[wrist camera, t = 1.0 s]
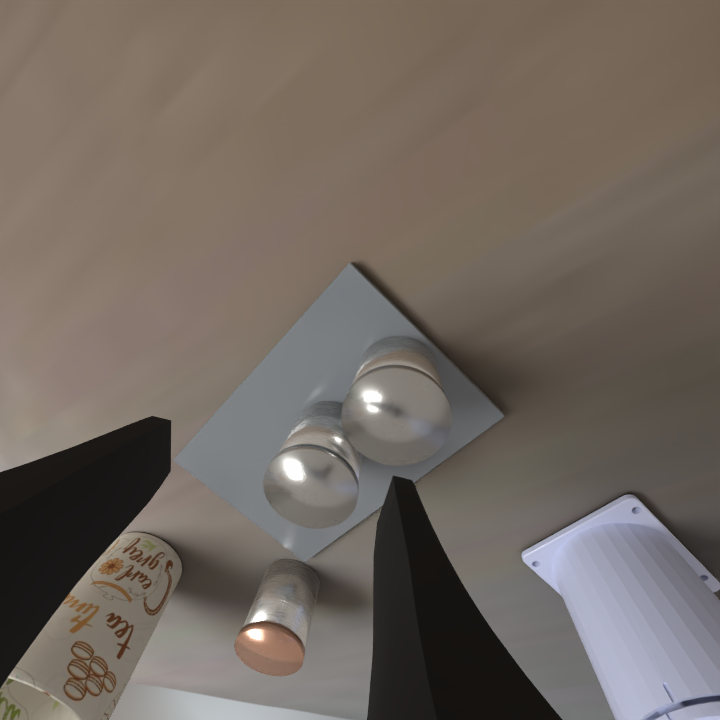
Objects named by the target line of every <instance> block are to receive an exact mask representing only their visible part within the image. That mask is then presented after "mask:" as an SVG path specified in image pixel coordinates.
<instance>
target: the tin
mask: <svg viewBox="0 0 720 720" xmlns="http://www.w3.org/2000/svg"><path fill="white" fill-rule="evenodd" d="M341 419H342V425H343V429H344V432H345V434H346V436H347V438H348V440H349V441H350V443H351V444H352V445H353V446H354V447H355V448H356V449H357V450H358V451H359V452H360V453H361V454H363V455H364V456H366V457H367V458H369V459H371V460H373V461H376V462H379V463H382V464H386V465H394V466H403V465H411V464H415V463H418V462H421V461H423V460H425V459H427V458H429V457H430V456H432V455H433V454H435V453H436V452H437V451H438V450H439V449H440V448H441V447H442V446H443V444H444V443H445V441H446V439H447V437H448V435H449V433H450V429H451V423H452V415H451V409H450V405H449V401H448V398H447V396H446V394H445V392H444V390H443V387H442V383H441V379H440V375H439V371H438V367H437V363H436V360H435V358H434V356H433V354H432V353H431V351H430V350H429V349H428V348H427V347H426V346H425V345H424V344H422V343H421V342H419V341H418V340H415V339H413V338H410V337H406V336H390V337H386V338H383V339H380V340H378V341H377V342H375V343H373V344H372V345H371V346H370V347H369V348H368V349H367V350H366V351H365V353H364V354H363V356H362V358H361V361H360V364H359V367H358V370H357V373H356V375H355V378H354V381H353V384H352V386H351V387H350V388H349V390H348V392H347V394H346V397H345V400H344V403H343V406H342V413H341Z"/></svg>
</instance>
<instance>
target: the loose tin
mask: <svg viewBox="0 0 720 720" xmlns="http://www.w3.org/2000/svg"><path fill="white" fill-rule="evenodd" d="M319 586H320V581H319V578H318V576H317V574H316V572H315V571H314V570H313V569H312V568H311V567H309V566H308V565H306V564H305V563H302V562H300V561H297V560H293V559H281V560H277V561H274V562H273V563H271V564H270V565H269V566H268V568H267V569H266V572H265V574H264V577H263V579H262V582H261V584H260V587H259V589H258V591H257V594H256V596H255V599H254V601H253V604H252V606H251V608H250V611H249V613H248V616H247V618H246V621H245V623H244V626H243V628H242V629H241V630H240V632H239V634H238V636H237V639H236V641H235V651H236V654H237V655H238V657H239V658H240V659H241V661H242V662H243V663H245V664H246V665H247V666H248V667H250V668H252V669H254V670H255V671H258V672H260V673H263V674H267V675H272V676H286V675H290V674H293V673H295V672H297V671H298V670H299V669H300V668H301V666H302V664H303V660H304V655H305V645H306V641H307V636H308V632H309V628H310V624H311V620H312V616H313V611H314V607H315V603H316V599H317V595H318V591H319Z"/></svg>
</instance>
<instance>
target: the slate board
mask: <svg viewBox="0 0 720 720" xmlns="http://www.w3.org/2000/svg"><path fill="white" fill-rule="evenodd" d="M390 336H406V337H410V338H413V339H415V340H418V341H419V342H421V343H422V344H424V345H425V346H426V347H427V348H428V349H429V350H430V351H431V353H432V354H433V356H434V358H435V360H436V363H437V367H438V371H439V375H440V379H441V383H442V387H443V390H444V392H445V394H446V396H447V398H448V401H449V405H450V409H451V415H452V423H451V429H450V433H449V435H448V437H447V439H446V441H445V443H444V444H443V446H442V447H441V448H440V449H439V450H438V451H437V452H436V453H435V454H433V455H432V456H430V457H429V458H427V459H425V460H423V461H421V462H418V463H415V464H411V465H403V466H394V465H386V464H382V463H379V462H376V461H373V460H371V459H369V458H367V457H366V456H364V455H363V461H362V466H361V472H360V477H359V482H358V483H359V494H358V499H357V504H356V507H355V509H354V511H353V513H352V514H351V515H350V516H349V517H348V518H347V519H346V520H345V521H343V522H342V523H340V524H338V525H336V526H333V527H329V528H322V529H313V528H306V527H302V526H299V525H296V524H294V523H291V522H289V521H288V520H286V519H284V518H283V517H282V516H280V515H279V514H278V513H277V512H276V511H275V510H274V509H273V508H272V507H271V505H270V504H269V502H268V500H267V498H266V496H265V493H264V489H263V478H264V474H265V471H266V469H267V467H268V466H269V464H270V462H271V461H272V459H273V458H274V457H275V456H276V454H278V452H279V451H280V449H281V447H282V446H283V444H284V442H285V440H286V439H287V437H288V435H289V433H290V432H291V430H292V428H293V427H294V425H295V423H296V421H297V420H298V418H299V416H300V415H301V413H302V412H303V411H304V410H305V409H306V408H307V407H308V406H310V405H312V404H314V403H317V402H321V401H335V402H339V403H342V404H343V403H344V400H345V397H346V394H347V392H348V390H349V388H350V387H351V386H352V384H353V381H354V378H355V375H356V373H357V370H358V367H359V364H360V361H361V358H362V356H363V354H364V353H365V351H366V350H367V349H368V348H369V347H370V346H371V345H372V344H373V343H375V342H377V341H378V340H380V339H383V338H386V337H390ZM503 417H505V415H504V414H503V412H502V410H501V409H499V408H498V407H497V406H496V405H495V404H494V403H493V402H492V401H491V400H490V399H489V398H488V397H487V396H486V395H485V394H484V393H483V392H482V391H481V390H480V389H479V388H478V387H477V386H476V385H475V384H474V383H473V382H472V381H471V380H470V379H469V378H468V377H467V376H466V375H465V374H464V373H463V372H462V371H461V370H460V369H459V368H458V367H457V366H456V365H455V364H454V363H453V362H452V361H451V360H450V359H449V358H448V357H447V356H446V355H445V354H444V353H443V352H442V351H441V350H440V349H439V348H438V347H437V346H436V345H435V344H434V343H433V342H432V341H431V340H430V339H429V338H428V337H427V336H426V335H425V334H424V333H423V332H422V331H421V330H420V329H419V328H417V327H416V326H415V325H414V324H413V323H412V322H411V321H410V320H409V319H408V318H407V317H406V316H405V315H404V314H403V313H402V312H401V311H400V310H399V309H398V308H397V307H396V306H395V305H394V304H393V303H392V302H391V301H390V300H389V299H388V298H387V297H386V296H385V295H384V294H383V293H382V292H381V291H380V290H379V289H378V288H377V287H376V286H375V285H374V284H373V283H372V282H371V281H370V280H369V279H368V278H367V277H366V276H365V275H364V274H363V273H362V272H361V271H360V270H359V269H358V268H357V267H356V266H355V265H354V264H353V263H352V262H351V263H349V264H348V265H347V267H346V268H345V269H344V270H343V271H342V272H341V273H340V274H339V275H338V277H337V278H336V279H335V280H334V281H333V282H332V283H331V284H330V286H329V287H328V288H327V289H326V290H325V291H324V292H323V293H322V294H321V296H320V297H319V298H318V299H317V300H316V301H315V302H314V303H313V304H312V306H311V307H310V308H309V309H308V310H307V311H306V312H305V313H304V315H303V316H302V317H301V318H300V319H299V320H298V321H297V322H296V323H295V325H294V326H293V327H292V328H291V329H290V330H289V331H288V332H287V334H286V335H285V336H284V337H283V338H282V339H281V340H280V341H279V342H278V344H277V345H276V346H275V347H274V348H273V349H272V350H271V351H270V353H269V354H268V355H267V356H266V357H265V358H264V359H263V360H262V361H261V363H260V364H259V365H258V366H257V367H256V368H255V369H254V370H253V372H252V373H251V374H250V375H249V376H248V377H247V378H246V379H245V380H244V382H243V383H242V384H241V385H240V386H239V387H238V388H237V389H236V391H235V392H234V393H233V394H232V395H231V396H230V397H229V398H228V399H227V401H226V402H225V403H224V404H223V405H222V406H221V407H220V408H219V410H218V411H217V412H216V413H215V414H214V415H213V416H212V417H211V418H210V420H209V421H208V422H207V423H206V424H205V425H204V426H203V427H202V428H201V430H200V431H199V432H198V433H197V434H196V435H195V436H194V437H193V439H192V440H191V441H190V442H189V443H188V444H187V445H186V446H185V447H184V449H183V450H182V451H181V452H180V453H179V454H178V455H177V456H176V458H175V459H174V460H173V461H175V462H176V463H177V464H179V465H180V466H181V467H182V468H184V469H185V470H186V471H188V472H189V473H190V474H191V475H193V476H194V477H195V478H197V479H198V480H199V481H200V482H202V483H203V484H204V485H206V486H207V487H208V488H209V489H211V490H212V491H213V492H215V493H216V494H217V495H218V496H220V497H221V498H222V499H224V500H225V501H226V502H228V503H229V504H230V505H231V506H233V507H234V508H235V509H237V510H238V511H239V512H240V513H242V514H243V515H244V516H246V517H247V518H248V519H249V520H251V521H252V522H253V523H255V524H256V525H257V526H258V527H260V528H261V529H262V530H264V531H265V532H266V533H267V534H269V535H270V536H271V537H273V538H274V539H275V540H276V541H278V542H279V543H280V544H282V545H283V546H284V547H285V548H287V549H288V550H289V551H291V552H292V553H293V554H294V555H296V556H297V557H298V558H300V559H301V560H302V561H303V562H306V561H307V560H308V559H310V558H311V557H313V556H314V555H315V554H317V553H318V552H319V551H321V550H322V549H324V548H325V547H326V546H328V545H329V544H330V543H332V542H333V541H334V540H336V539H337V538H339V537H340V536H341V535H343V534H344V533H345V532H347V531H348V530H350V529H351V528H352V527H354V526H355V525H356V524H358V523H359V522H361V521H362V520H363V519H365V518H366V517H367V516H369V515H370V514H372V513H373V512H374V511H376V510H377V509H378V508H380V507H381V506H383V504H384V501H385V498H386V495H387V492H388V489H389V486H390V483H391V480H392V477H393V475H394V476H398V477H402V478H406V479H410V480H412V481H413V483H414V482H416V481H417V480H418V479H420V478H421V477H422V476H424V475H425V474H427V473H428V472H429V471H431V470H432V469H433V468H435V467H436V466H438V465H439V464H440V463H442V462H443V461H444V460H446V459H447V458H449V457H450V456H451V455H453V454H454V453H455V452H457V451H458V450H459V449H461V448H462V447H464V446H465V445H466V444H468V443H469V442H470V441H472V440H473V439H475V438H476V437H477V436H479V435H480V434H481V433H483V432H484V431H486V430H487V429H488V428H490V427H491V426H492V425H494V424H495V423H497V422H498V421H499V420H501V419H502V418H503Z"/></svg>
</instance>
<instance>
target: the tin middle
mask: <svg viewBox="0 0 720 720" xmlns="http://www.w3.org/2000/svg"><path fill="white" fill-rule="evenodd" d="M342 406H343V404H342V403H339V402H335V401H321V402H317V403H314V404H312V405H310V406H308V407H307V408H306V409H305V410H304V411H303V412H302V413H301V415H300V416H299V418H298V420H297V421H296V423H295V425H294V427H293V428H292V430H291V432H290V433H289V435H288V437H287V439H286V440H285V442H284V444H283V446H282V447H281V449H280V451H279V452H278V454H276V456H275V457H274V458H273V459H272V461H271V462H270V464H269V466H268V467H267V469H266V471H265V474H264V478H263V489H264V493H265V496H266V498H267V500H268V502H269V504H270V505H271V507H272V508H273V509H274V510H275V511H276V512H277V513H278V514H279V515H280V516H282V517H283V518H284V519H286V520H288V521H289V522H291V523H294V524H296V525H299V526H302V527H306V528H313V529H322V528H329V527H333V526H336V525H338V524H340V523H342V522H343V521H345V520H346V519H347V518H348V517H349V516H350V515H351V514H352V513H353V511H354V509H355V507H356V504H357V499H358V494H359V483H358V482H359V477H360V472H361V466H362V461H363V454H361V453H360V452H359V451H358V450H357V449H356V448H355V447H354V446H353V445H352V444H351V443H350V441H349V440H348V438H347V436H346V434H345V432H344V429H343V425H342V419H341V413H342Z"/></svg>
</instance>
